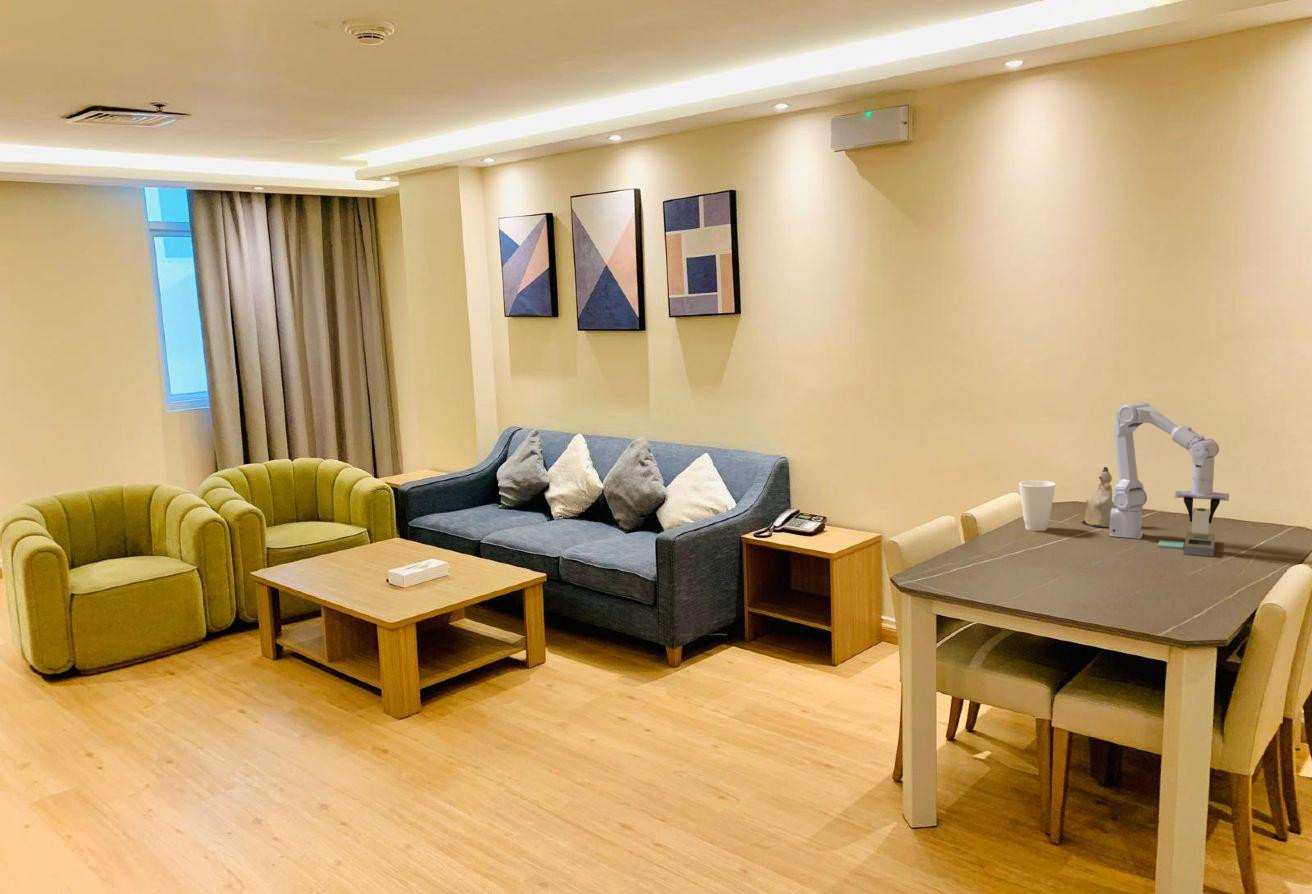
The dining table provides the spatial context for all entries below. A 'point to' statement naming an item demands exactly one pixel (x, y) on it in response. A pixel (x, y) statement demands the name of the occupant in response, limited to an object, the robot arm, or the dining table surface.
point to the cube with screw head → (1200, 520)
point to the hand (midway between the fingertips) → (1200, 521)
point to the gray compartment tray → (1199, 544)
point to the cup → (1036, 503)
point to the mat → (1171, 544)
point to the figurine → (1100, 503)
